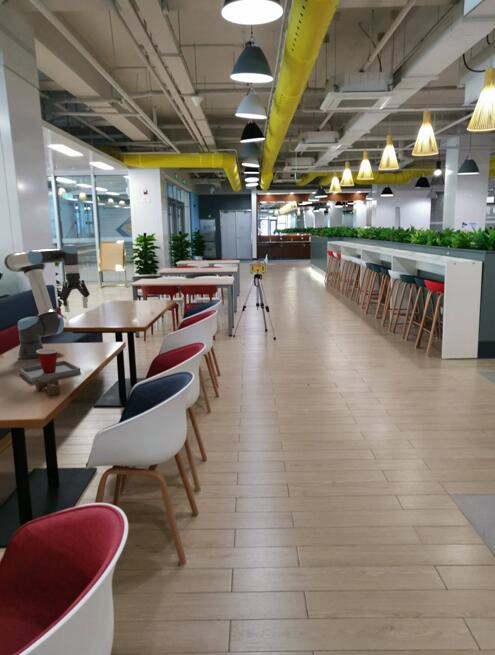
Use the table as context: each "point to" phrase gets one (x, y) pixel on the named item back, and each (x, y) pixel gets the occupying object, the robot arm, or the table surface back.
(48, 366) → the plastic cup
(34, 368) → the grey tray
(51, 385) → the kendama
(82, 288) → the robot arm
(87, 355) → the table surface
